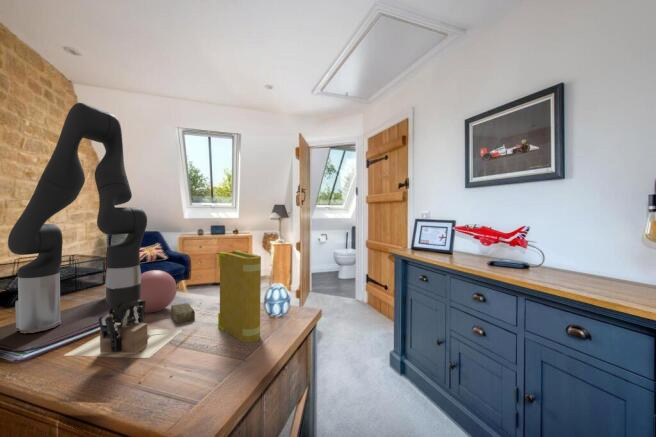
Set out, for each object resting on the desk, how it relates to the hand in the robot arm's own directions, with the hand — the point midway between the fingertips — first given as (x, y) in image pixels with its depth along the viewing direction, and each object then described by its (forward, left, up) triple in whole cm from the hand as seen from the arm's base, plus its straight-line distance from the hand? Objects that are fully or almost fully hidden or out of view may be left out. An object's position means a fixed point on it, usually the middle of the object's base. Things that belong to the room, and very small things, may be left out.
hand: (124, 345), depth 74 cm
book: (+26, +15, -3) cm, 30 cm away
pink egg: (-14, +32, -3) cm, 35 cm away
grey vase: (-38, +49, -3) cm, 62 cm away
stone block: (+3, +23, -3) cm, 23 cm away
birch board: (-2, +4, -2) cm, 5 cm away
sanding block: (0, 0, -1) cm, 1 cm away
